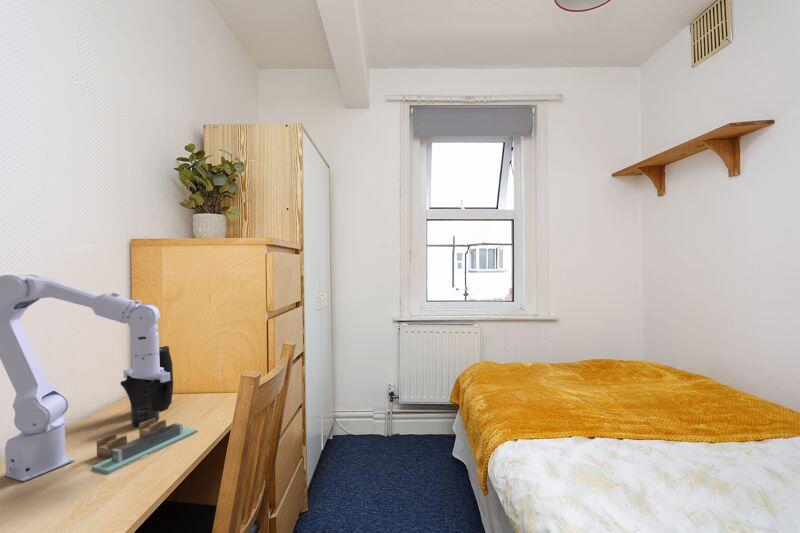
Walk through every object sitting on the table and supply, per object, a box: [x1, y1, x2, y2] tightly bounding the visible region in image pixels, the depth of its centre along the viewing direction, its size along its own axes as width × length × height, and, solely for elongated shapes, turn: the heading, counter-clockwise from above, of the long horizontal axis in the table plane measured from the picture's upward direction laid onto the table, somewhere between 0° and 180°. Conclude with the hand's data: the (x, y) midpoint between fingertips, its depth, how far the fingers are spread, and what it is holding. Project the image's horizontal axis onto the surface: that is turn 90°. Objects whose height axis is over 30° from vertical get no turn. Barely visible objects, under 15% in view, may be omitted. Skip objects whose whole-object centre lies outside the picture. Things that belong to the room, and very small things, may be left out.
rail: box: [111, 422, 184, 463], centre depth 95 cm, size 16×2×2 cm, turn 157°
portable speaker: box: [159, 345, 174, 412], centre depth 123 cm, size 9×9×20 cm
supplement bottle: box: [130, 380, 160, 428], centre depth 112 cm, size 7×7×12 cm
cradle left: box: [96, 432, 128, 460], centre depth 92 cm, size 4×5×4 cm
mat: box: [91, 426, 198, 474], centre depth 95 cm, size 22×6×1 cm, turn 157°
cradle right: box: [138, 418, 167, 439], centre depth 101 cm, size 4×5×4 cm
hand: (147, 408), depth 95 cm, fingers open, 7 cm apart
